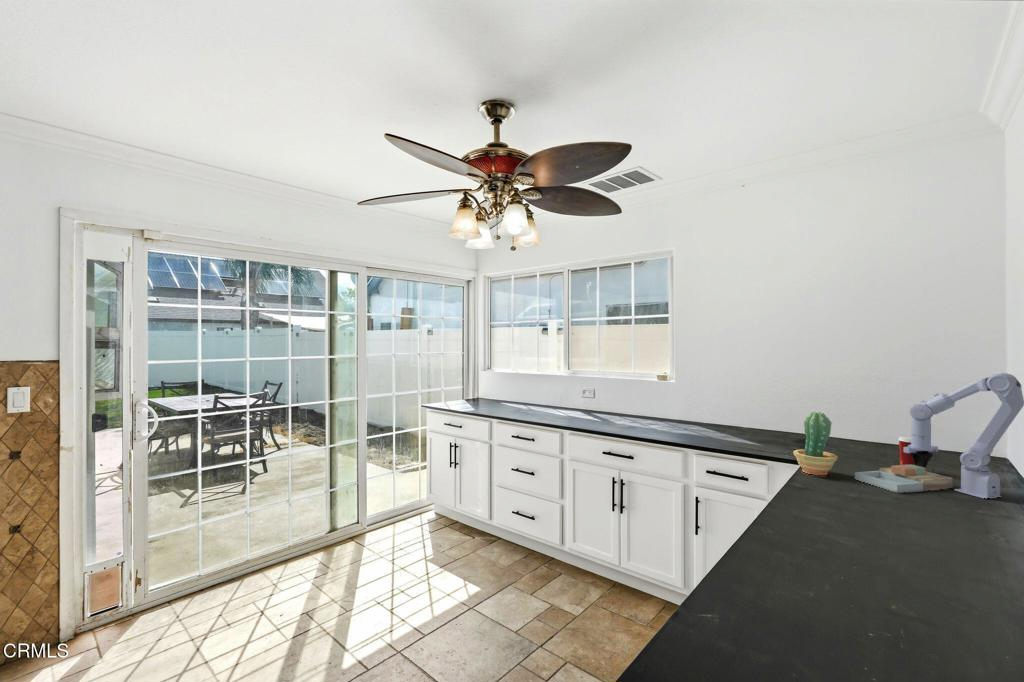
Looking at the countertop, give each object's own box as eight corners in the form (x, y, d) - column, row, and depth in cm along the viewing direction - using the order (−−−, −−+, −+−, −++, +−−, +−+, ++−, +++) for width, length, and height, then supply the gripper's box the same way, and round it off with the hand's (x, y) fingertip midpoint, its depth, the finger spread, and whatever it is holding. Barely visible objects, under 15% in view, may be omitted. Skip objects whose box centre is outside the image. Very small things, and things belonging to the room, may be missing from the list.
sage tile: (925, 474, 177) (925, 467, 177) (915, 475, 175) (915, 468, 175) (911, 470, 182) (911, 464, 181) (901, 471, 180) (901, 464, 180)
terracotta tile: (915, 475, 175) (915, 468, 175) (904, 475, 174) (904, 469, 174) (901, 471, 180) (901, 465, 180) (891, 472, 179) (891, 465, 179)
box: (923, 491, 169) (923, 482, 169) (897, 493, 166) (897, 484, 166) (879, 478, 185) (879, 470, 185) (854, 480, 182) (854, 472, 182)
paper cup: (926, 473, 192) (927, 439, 192) (907, 473, 192) (908, 439, 192) (910, 468, 200) (911, 435, 200) (892, 468, 200) (892, 435, 200)
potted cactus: (847, 479, 183) (847, 415, 183) (807, 478, 183) (808, 415, 183) (821, 468, 199) (822, 409, 199) (785, 467, 199) (785, 409, 199)
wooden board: (952, 488, 172) (952, 477, 172) (923, 491, 169) (923, 480, 169) (906, 476, 188) (906, 466, 188) (879, 478, 185) (879, 468, 185)
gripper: (924, 432, 185) (923, 467, 185) (895, 434, 182) (895, 468, 182) (944, 436, 178) (944, 472, 178) (914, 437, 175) (914, 474, 175)
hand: (920, 470), depth 179 cm, fingers closed
